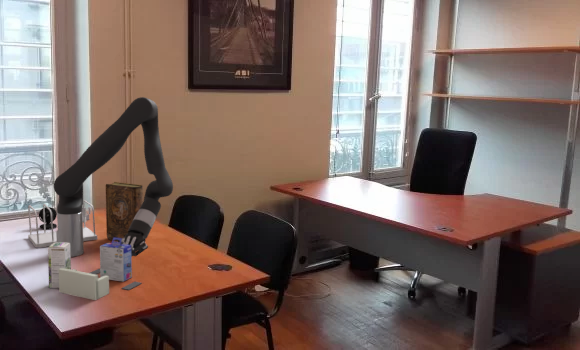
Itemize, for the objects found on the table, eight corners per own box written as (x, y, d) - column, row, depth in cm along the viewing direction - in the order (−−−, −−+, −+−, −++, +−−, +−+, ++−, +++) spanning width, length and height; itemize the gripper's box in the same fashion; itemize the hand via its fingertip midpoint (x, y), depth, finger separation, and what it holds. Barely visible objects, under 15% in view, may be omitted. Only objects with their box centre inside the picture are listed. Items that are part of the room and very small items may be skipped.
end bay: (59, 292, 183) (58, 269, 182) (74, 285, 189) (73, 263, 188) (95, 300, 177) (94, 276, 176) (109, 293, 183) (108, 270, 182)
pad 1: (85, 275, 200) (85, 274, 200) (99, 269, 206) (99, 268, 206) (92, 276, 198) (92, 275, 198) (105, 270, 205) (105, 269, 205)
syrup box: (54, 282, 192) (52, 242, 189) (72, 282, 192) (70, 242, 190) (48, 288, 186) (46, 246, 184) (66, 288, 187) (65, 246, 184)
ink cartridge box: (133, 277, 199) (132, 238, 196) (124, 282, 194) (123, 242, 191) (108, 273, 201) (107, 235, 199) (99, 278, 196) (98, 239, 194)
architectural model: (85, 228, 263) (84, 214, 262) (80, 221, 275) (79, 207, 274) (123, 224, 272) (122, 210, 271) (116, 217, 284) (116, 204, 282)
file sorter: (86, 231, 257) (85, 198, 254) (97, 240, 243) (96, 205, 240) (28, 238, 243) (26, 203, 240) (36, 248, 229) (34, 212, 226)
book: (145, 241, 243) (144, 185, 239) (137, 244, 238) (136, 187, 234) (115, 236, 249) (113, 181, 245) (106, 239, 244) (105, 183, 240)
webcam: (40, 230, 255) (39, 209, 253) (38, 226, 261) (37, 206, 260) (58, 228, 259) (57, 207, 257) (56, 225, 265) (55, 204, 264)
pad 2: (121, 288, 188) (121, 288, 188) (134, 282, 194) (134, 281, 194) (128, 290, 186) (128, 289, 186) (141, 283, 193) (141, 282, 193)
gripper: (123, 216, 208) (102, 257, 199) (152, 220, 204) (132, 262, 195) (132, 226, 214) (112, 266, 205) (161, 231, 209) (142, 272, 200)
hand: (122, 264), depth 200 cm, fingers closed
